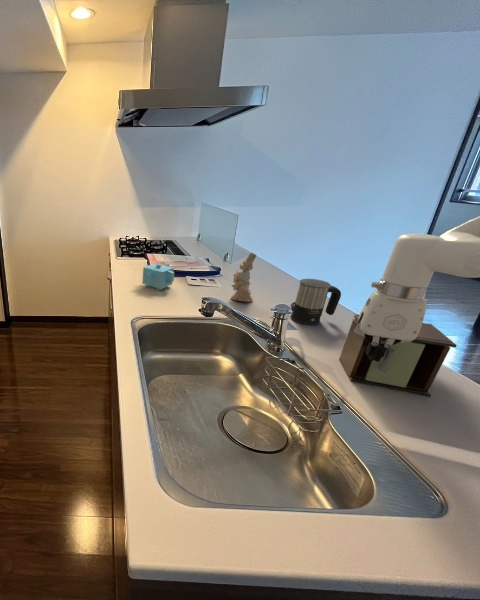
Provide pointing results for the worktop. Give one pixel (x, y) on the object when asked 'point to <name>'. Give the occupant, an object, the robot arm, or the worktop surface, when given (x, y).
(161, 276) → the teapot
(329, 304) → the milk frother
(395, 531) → the worktop surface
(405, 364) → the sliding door
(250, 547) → the worktop surface
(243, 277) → the figurine
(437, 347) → the cupboard
